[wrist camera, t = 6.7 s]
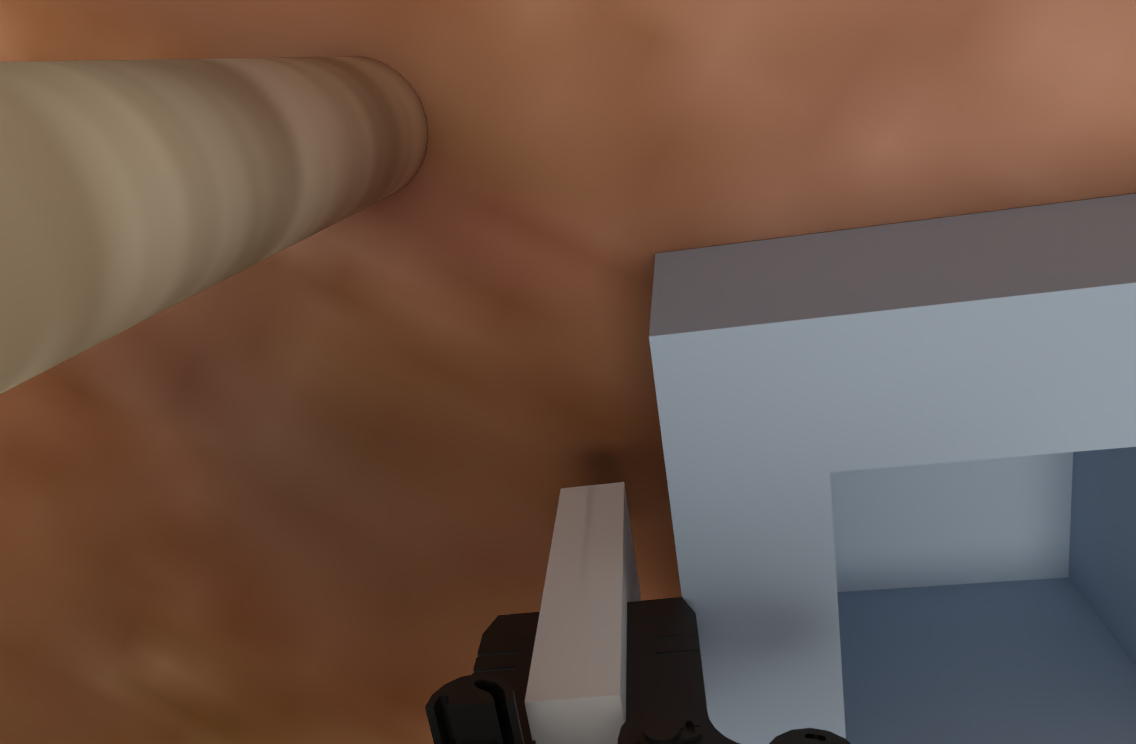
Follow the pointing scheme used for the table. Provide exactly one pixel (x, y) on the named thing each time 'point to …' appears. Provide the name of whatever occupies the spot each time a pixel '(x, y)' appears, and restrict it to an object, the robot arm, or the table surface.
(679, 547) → the block
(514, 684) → the robot arm
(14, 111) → the dowel
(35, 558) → the table surface
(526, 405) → the table surface
